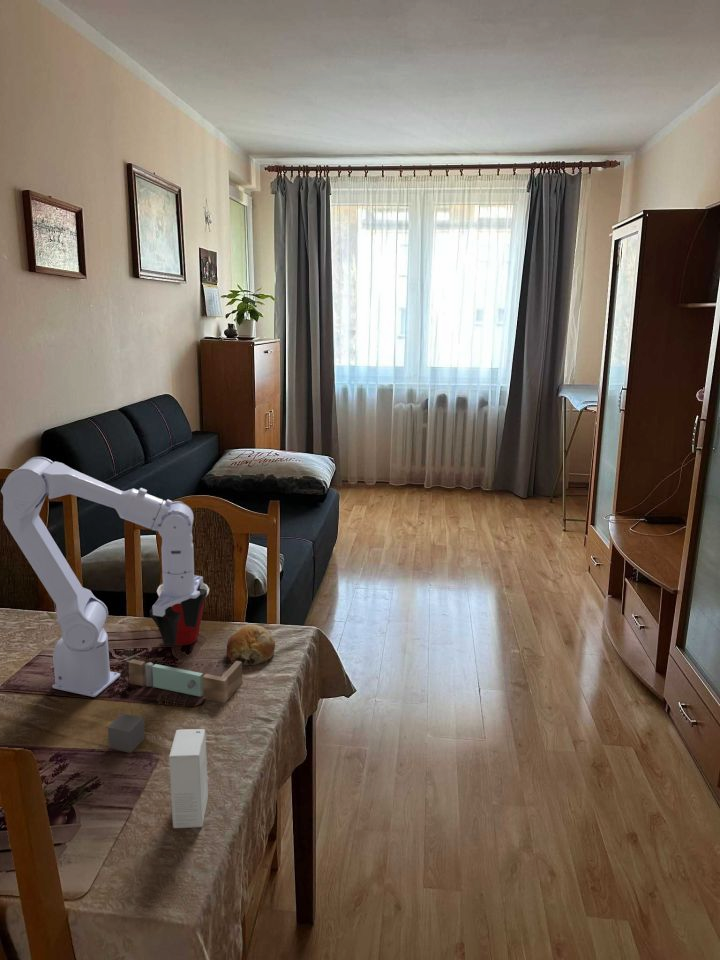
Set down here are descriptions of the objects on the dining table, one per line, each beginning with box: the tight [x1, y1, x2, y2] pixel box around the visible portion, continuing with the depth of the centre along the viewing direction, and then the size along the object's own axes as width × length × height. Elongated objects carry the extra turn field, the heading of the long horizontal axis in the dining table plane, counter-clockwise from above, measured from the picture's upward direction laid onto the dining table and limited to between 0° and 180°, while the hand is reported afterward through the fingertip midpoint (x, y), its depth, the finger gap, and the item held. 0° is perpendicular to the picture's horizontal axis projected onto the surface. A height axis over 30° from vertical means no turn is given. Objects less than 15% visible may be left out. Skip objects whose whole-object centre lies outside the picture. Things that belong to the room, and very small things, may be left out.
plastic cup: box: [156, 582, 210, 646], centre depth 144 cm, size 11×11×12 cm
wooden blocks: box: [128, 658, 243, 704], centre depth 128 cm, size 20×7×4 cm, turn 74°
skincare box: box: [168, 728, 209, 829], centre depth 95 cm, size 6×4×12 cm
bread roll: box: [226, 623, 276, 666], centre depth 140 cm, size 10×10×8 cm
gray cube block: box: [107, 712, 146, 754], centre depth 111 cm, size 4×4×4 cm
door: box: [145, 661, 204, 698], centre depth 125 cm, size 12×2×4 cm, turn 74°
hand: (180, 634), depth 128 cm, fingers open, 7 cm apart
